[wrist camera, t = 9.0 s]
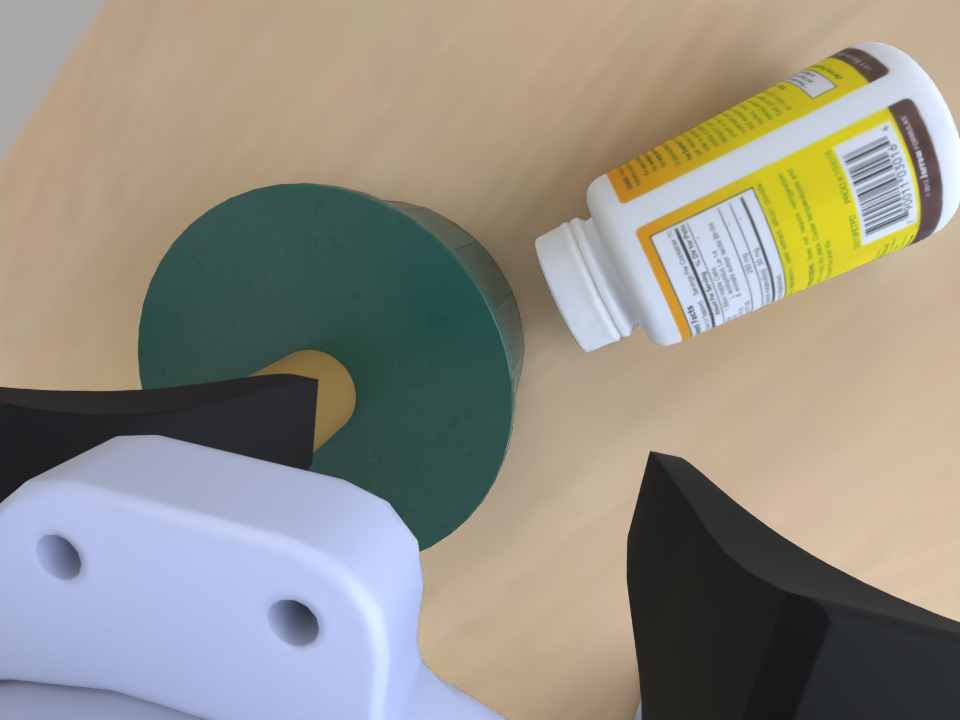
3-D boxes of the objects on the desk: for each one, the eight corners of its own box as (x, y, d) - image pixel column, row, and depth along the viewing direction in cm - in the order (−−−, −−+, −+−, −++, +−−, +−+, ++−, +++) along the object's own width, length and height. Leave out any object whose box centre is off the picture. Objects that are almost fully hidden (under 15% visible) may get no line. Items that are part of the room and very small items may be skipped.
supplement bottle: (838, 106, 19) (551, 247, 22) (884, -18, 14) (502, 187, 17) (927, 255, 18) (607, 385, 21) (1015, 177, 13) (572, 364, 16)
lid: (483, 586, 19) (453, 689, 15) (161, 500, 21) (57, 573, 17) (553, 222, 16) (538, 232, 12) (161, 153, 18) (30, 141, 14)
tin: (497, 494, 24) (468, 580, 19) (254, 435, 26) (163, 499, 20) (548, 227, 21) (531, 240, 16) (268, 178, 22) (163, 173, 17)
